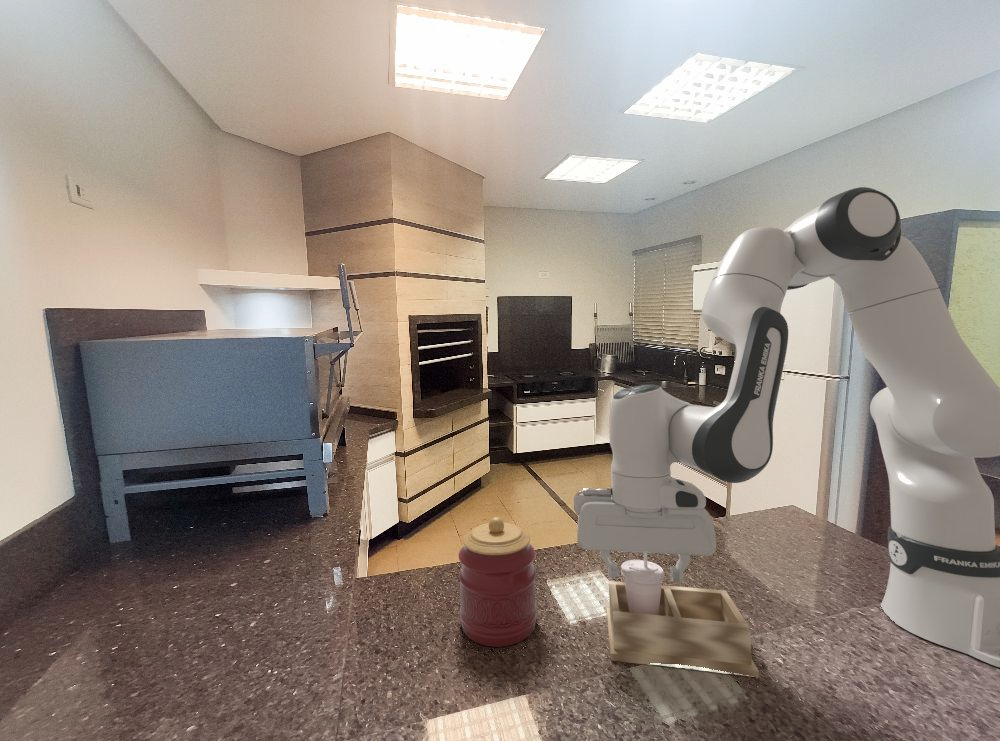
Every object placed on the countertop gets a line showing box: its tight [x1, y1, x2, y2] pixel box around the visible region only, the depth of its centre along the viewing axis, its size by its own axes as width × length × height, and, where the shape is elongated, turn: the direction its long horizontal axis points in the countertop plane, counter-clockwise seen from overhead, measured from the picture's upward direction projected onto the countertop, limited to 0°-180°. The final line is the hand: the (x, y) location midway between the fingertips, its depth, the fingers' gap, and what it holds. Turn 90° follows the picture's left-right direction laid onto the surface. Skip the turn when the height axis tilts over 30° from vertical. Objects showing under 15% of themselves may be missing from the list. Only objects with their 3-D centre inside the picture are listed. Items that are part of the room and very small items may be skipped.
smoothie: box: [620, 552, 665, 615], centre depth 62 cm, size 6×6×14 cm
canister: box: [457, 516, 538, 648], centre depth 66 cm, size 13×13×18 cm
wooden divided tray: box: [605, 580, 760, 678], centre depth 60 cm, size 19×12×6 cm, turn 78°
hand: (644, 578), depth 61 cm, fingers open, 8 cm apart
